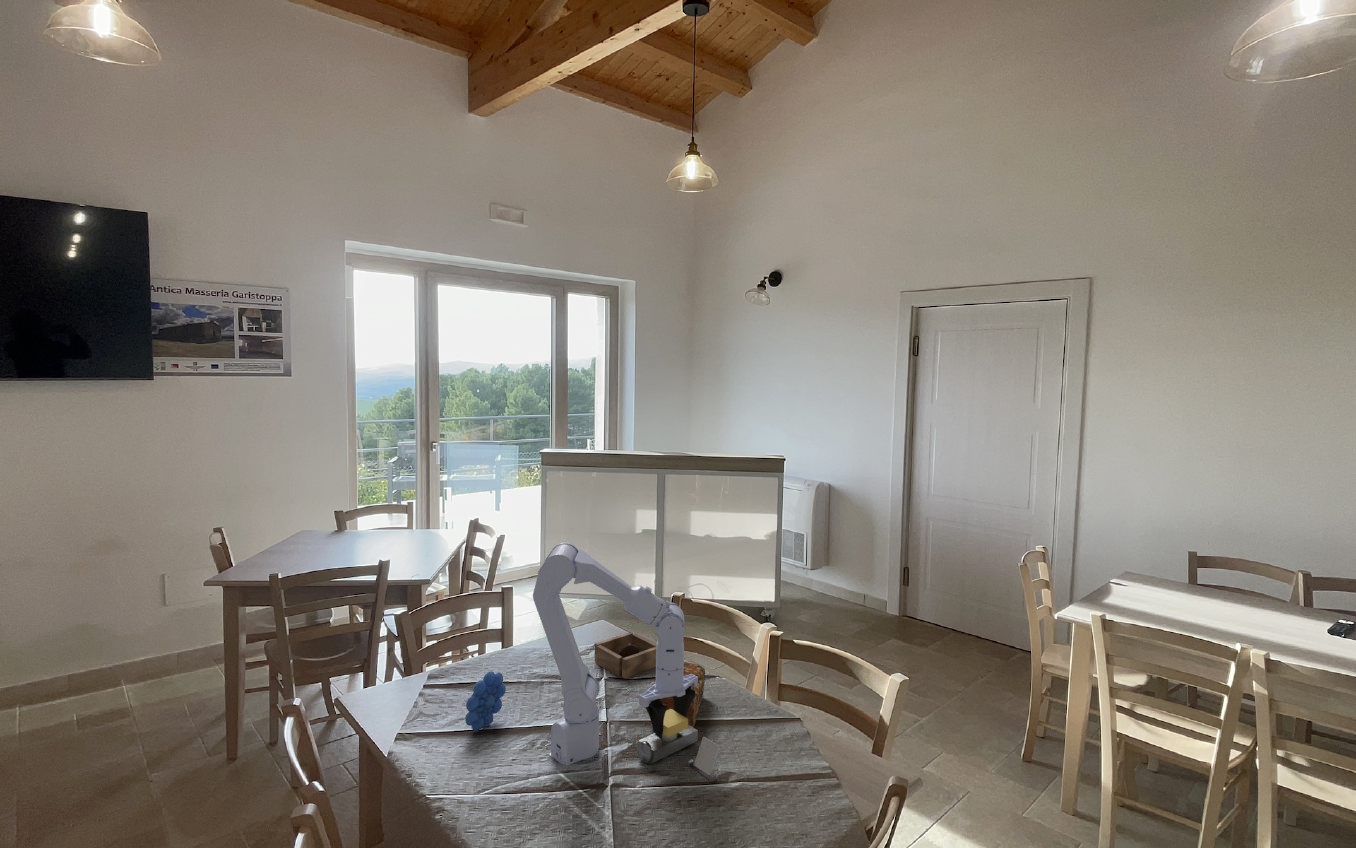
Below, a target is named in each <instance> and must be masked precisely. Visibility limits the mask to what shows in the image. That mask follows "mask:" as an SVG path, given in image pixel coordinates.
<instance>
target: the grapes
mask: <svg viewBox="0 0 1356 848" xmlns="http://www.w3.org/2000/svg"><path fill="white" fill-rule="evenodd" d="M472 691H473V693H471V695H470V697H468V698H467V700H466V704H465V708H466V710H467V711H468V712H467V713H466V715H465V718H464V719H465V720H464V721H465V723H466V725H467V726H470V727H471V730H472V731H473V732H478V731H481V729H482V728H483V727H489V726H491V724H492V723H493V722H494V714H497V713H499V712H500V710H501V709H502V706H503V701H502V697H504V696H505V694H506V691H507V689H506V685H505V683H504V676H503V673H501V672H496V673H495V672H494V671H492V670H491V671H488V672H487V673H485V675H484V676H483V679H480V680H478V681H477V682H476V683H474V685H473V688H472Z"/></svg>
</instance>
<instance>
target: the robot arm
mask: <svg viewBox="0 0 1356 848" xmlns="http://www.w3.org/2000/svg"><path fill="white" fill-rule="evenodd" d="M572 579H574V582H573V585H574V584H575V585H577V584H583V583H591V584H593V585H595V586H597V587H598V588H600V589H602V590H603V591H605V592H606V593H609V594H610V595H611V596H613V597H615V598H617V599H619V600H621V601H622V603H623V607H624V610H625V611H627V612H628V613H630V614H631V615H633V616H634V617H636V619H639V620H640V621H641V622H643V623H645V624H646V625H648V626H649V627H651V628H655V633H656V635H657V641H656V642H655V643H656V667H655V682H654V684H653V685H652V686H650V687H649V688H648V689H647V690H645V691H644V692H643V693H641V694H638V696H639V697H638V698H639V699H638V704H639V705H640V706H641V707H643V708H645V709H646V711H647V714H648V718H649V719H650V724H651V723H652V726H651V728H652V731H653V734H654V733H656V734H657V735H659V736H660V735H662V733H663V723H664V716H665V712H666V710H667V706H665V705H663V704H662V702H661V699H662V698H666V697H671V696H673V699H674V711H676V712H677V713H679V714H681V715H682V716H684V717H686V715H687V712H688V709H689V706H690V704H691V702H692V701H693V699H694V698H695V691H694V690H692V689H691V686H694V687H695V686H698V677H697V676H695V675H693V674H690V675H686V676H684V662H685V655H684V654H685V643H684V640H685V639H684V638H685V636H684V635H685V633H686V627H685V625H686V624H685V614H684V611H683V609H682V608H681V607H680V606H679V605H678V604H677V603H676V602H675V603H674V602H671V601H669V600H666V601H665V600H664V599H662V598H661V597H659V596H657V595H656V594H655V593H653V592H652V588H651V587H649V586H647V585H646V586H645V587H644V586H643V585H633V586H632V585H630V584H629V583H627V582H626V581H625V580H623V579H622V578H620V577H619V576H618V575H616V574H615V573H614V572H612V571H611V570H609V569H608V568H606V567H605V566H604V565H602V564H601V563H600V562H599V561H597V560H596V559H595V558H593V557H592V556H591V555H590V554H588V553H587V552H586V551H584V550H583V549H578V548H577V547H576V546H575V545H574V544H572V543H569V542H560V543H559V544H556V545H555V546H554V547H553V548H552V549H551V551H550V552H549V554H548V555H547V557H545V560H544V562H543V563H542V565H541V566H540V568H539V570H537V578H536V581H535V585H534V589H533V593H532V599H533V603H534V606H535V607H536V608H535V609H536V610H537V613H538V616H539V619H540V622H541V624H542V628H543V630H544V634H545V636H546V639H547V641H548V644H549V648H550V650H551V653H552V655H553V658H554V661H555V664H556V667H557V669H558V672H559V675H560V680H561V681H560V683H561V685H560V686H561V694H562V697H563V706H562V707H563V708H562V711H563V715H562V716H561V717H560V718H559V719H558V720H557V721H555V722H554V723H553V724H552V725H551V727H550V728H551V729H550V730H551V731H550V752H549V753H548V757H549V758H551V759H554V760H555V761H557V762H558V763H559V764H561V765H564V766H566V767H567V766H570V765H572V764H574V763H577V762H580V761H582V760H587V759H590V758H593V757H594V756H596V754H597V753H598V752H599V748H600V745H599V744H600V736H599V735H600V728H599V727H600V709H599V707H598V706H597V704H596V701H597V697H598V694H599V691H600V684H599V681H598V679H596V677H595V676H594V675H592V672H591V671H590V669H589V667H588V665H586V664H585V663H584V661H583V658H582V656H581V652H580V650H579V647H578V643H577V642H576V638H575V636H574V633H573V631H572V627H571V625H570V622H569V619H568V616H567V612H566V610H565V607H564V605H563V602H562V599H561V596H560V593H561V591H562V589H563V588H564V587H565V586H566V585H568V584H569V583H570V582H571V581H572Z"/></svg>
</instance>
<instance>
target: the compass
mask: <svg viewBox="0 0 1356 848" xmlns="http://www.w3.org/2000/svg"><path fill="white" fill-rule="evenodd" d="M639 652H640V650H639V648H638V647H637V646H636V645H633V644H630V643H629V644H628V645H625V646H623V647H622V648H621V649H620V650H619V652H618V655H620V656H622V657H623V658H625V657H628V656H631V655H633V654H636V653H639Z"/></svg>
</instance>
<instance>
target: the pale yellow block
mask: <svg viewBox="0 0 1356 848" xmlns="http://www.w3.org/2000/svg"><path fill="white" fill-rule="evenodd" d="M650 726H651V727H652V723H651V722H650ZM685 729H688V719H687V718H686V717H684V716H682V715H681V714H679V713H677V712H676V711H674V710H672V709H669V710H667V711H666V712H665V716H664V723H663V733H662V740H663V741H665V742H667V743H669V742H671V741H673V740H675V739H677V733H679V732H681V731H683V730H685Z"/></svg>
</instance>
